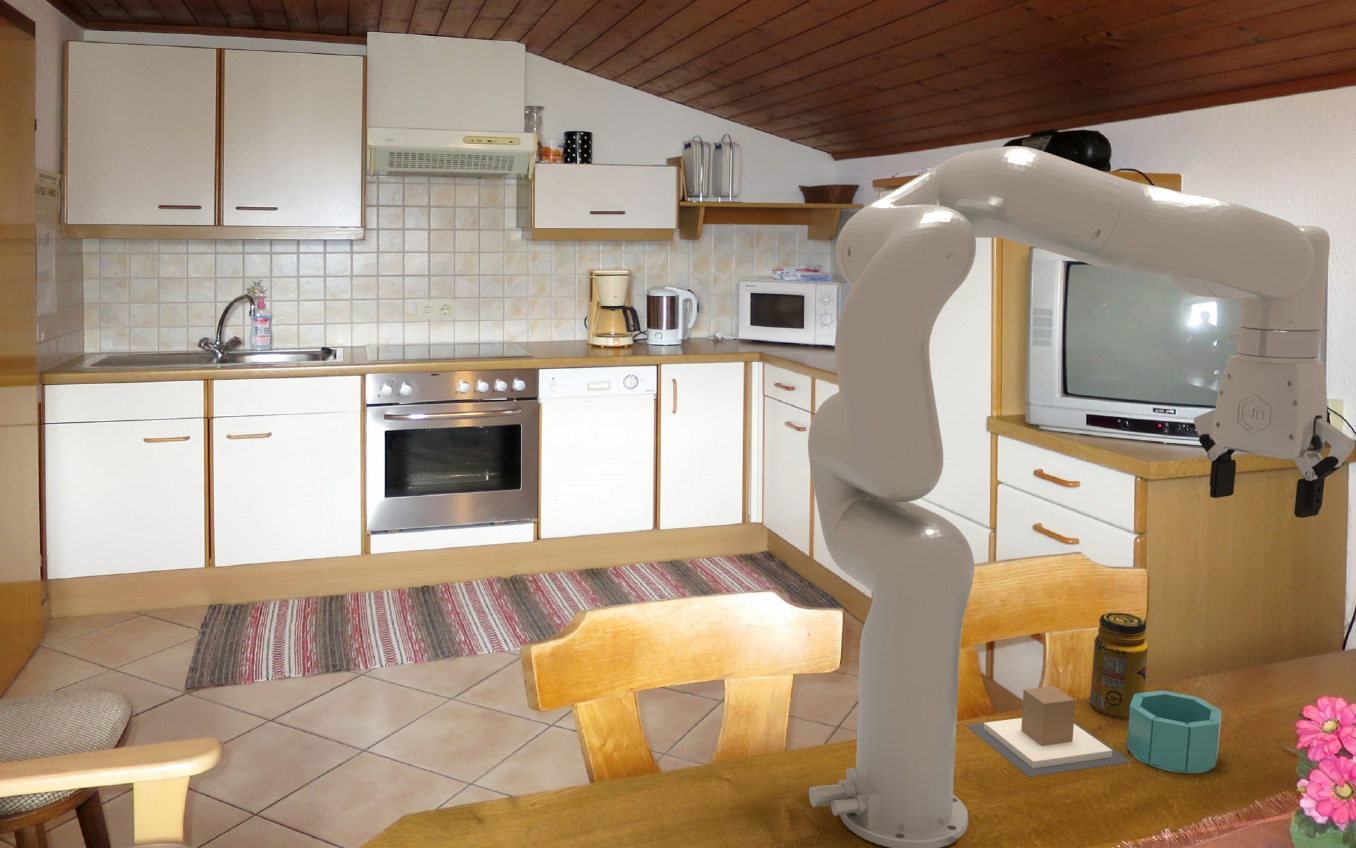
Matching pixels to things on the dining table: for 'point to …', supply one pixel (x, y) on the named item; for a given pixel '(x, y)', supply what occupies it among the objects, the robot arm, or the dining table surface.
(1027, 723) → the lid
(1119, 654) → the condiment
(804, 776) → the dining table surface
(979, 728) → the mat
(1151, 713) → the bowl
